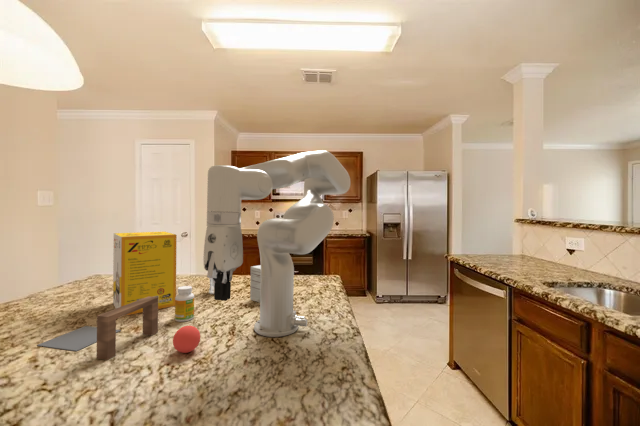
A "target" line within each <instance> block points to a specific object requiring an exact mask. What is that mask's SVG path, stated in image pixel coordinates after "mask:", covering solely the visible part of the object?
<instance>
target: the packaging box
mask: <svg viewBox="0 0 640 426" xmlns="http://www.w3.org/2000/svg"><path fill="white" fill-rule="evenodd" d="M177 240H178V239H177V234H175V233H171V232H168V231H145V232H144V231H142V232H139V231H138V232H118V233H117V232H115V233H113V254H112V255H113V260H112V262H113V265H112V266H113V267H112V268H113V271H112V272H113V275H112V279H113V281H112V284H113V285H112V298H113V299H112V304H113V305H114V309H116V308H119V307H122V306H124V305H127V304H130V303H132V302H135V301H138V300H140V299H143V298H146V297H149V296H150V297H158V310H161V309H166V308H171V307H175V297H176V295H177ZM140 313H143V308H141V309H139V310H136V311H134V312H132V313H129V314H127V315H124V316H129V315H136V314H140ZM124 316H123V317H124Z"/></svg>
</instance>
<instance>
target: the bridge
mask: <svg viewBox="0 0 640 426" xmlns="http://www.w3.org/2000/svg"><path fill="white" fill-rule="evenodd" d="M141 308H143V312H142V335H146V336H154V335H156V334H158V333H159V309H158V297H150V296H149V297H146V298H143V299H140V300H138V301H135V302H132V303H130V304H127V305H124V306H122V307H119V308H114V309H111V310H109V311H106V312H103V313H100V314H97V315H96V327H97V342H96V359H98V360H104V361H109V360H110V359H112V358H114V357H116V355H117V353H116V351H117V350H116V348H117V347H116V345H117V344H116V343H117V333H116V330H117V319H119V318H122V317H124V315H126V316H128V315H127V314H129V313H132V312H134V311H136V310H139V309H141Z"/></svg>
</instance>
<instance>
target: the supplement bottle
mask: <svg viewBox="0 0 640 426" xmlns="http://www.w3.org/2000/svg"><path fill="white" fill-rule="evenodd" d="M194 318H195V294H194V293H193V287H192V286H191V285H182V286H179V287H177V294H176V297H175V306H174V320H175V321H176V322H188V321H191V320H193V319H194Z"/></svg>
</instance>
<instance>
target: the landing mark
mask: <svg viewBox="0 0 640 426" xmlns="http://www.w3.org/2000/svg"><path fill="white" fill-rule="evenodd" d="M120 332H121V329H116V334H117V333H120ZM94 344H97V326H89V325H84V326H82V327H79V328H77V329H74V330H71V331H69V332H67V333H64V334H62V335H59V336H56V337H53V338H51V339H49V340H46V341H44V342H43V341H42V342H41V343H38V344H37V345H36V346H37V347H42V346H43V348H50V349H57V350H63V351H64V350H65V351H70V352H71V351H72V352H78V351H81V350H83V349H85V348H88V347H89V346H92V345H94Z"/></svg>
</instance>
